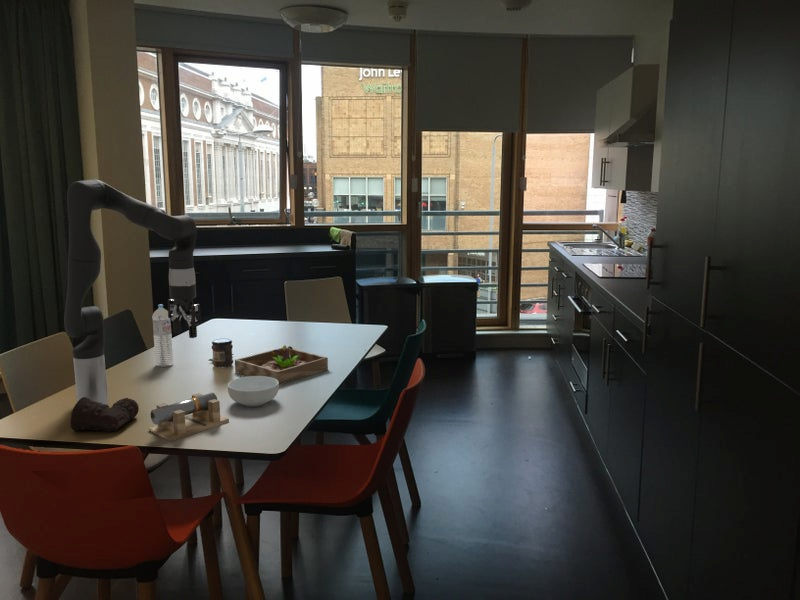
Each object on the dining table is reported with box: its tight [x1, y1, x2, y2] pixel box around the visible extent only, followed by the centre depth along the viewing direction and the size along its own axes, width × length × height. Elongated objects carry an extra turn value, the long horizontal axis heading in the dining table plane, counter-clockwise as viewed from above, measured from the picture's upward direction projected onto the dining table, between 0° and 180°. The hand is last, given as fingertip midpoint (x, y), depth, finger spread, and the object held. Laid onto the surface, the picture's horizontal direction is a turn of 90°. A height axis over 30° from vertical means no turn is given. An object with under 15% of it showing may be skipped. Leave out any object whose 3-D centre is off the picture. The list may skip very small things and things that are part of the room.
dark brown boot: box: [70, 397, 140, 433], centre depth 196 cm, size 10×15×15 cm
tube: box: [150, 392, 218, 426], centre depth 194 cm, size 20×4×4 cm, turn 141°
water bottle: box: [151, 303, 174, 368], centre depth 259 cm, size 7×7×25 cm
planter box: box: [234, 346, 329, 386], centre depth 253 cm, size 26×26×5 cm
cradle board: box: [148, 392, 230, 442], centre depth 195 cm, size 12×20×8 cm, turn 141°
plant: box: [262, 345, 309, 371], centre depth 252 cm, size 20×20×11 cm
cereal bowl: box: [227, 376, 280, 408], centre depth 217 cm, size 17×17×7 cm
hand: (185, 335), depth 196 cm, fingers open, 8 cm apart
